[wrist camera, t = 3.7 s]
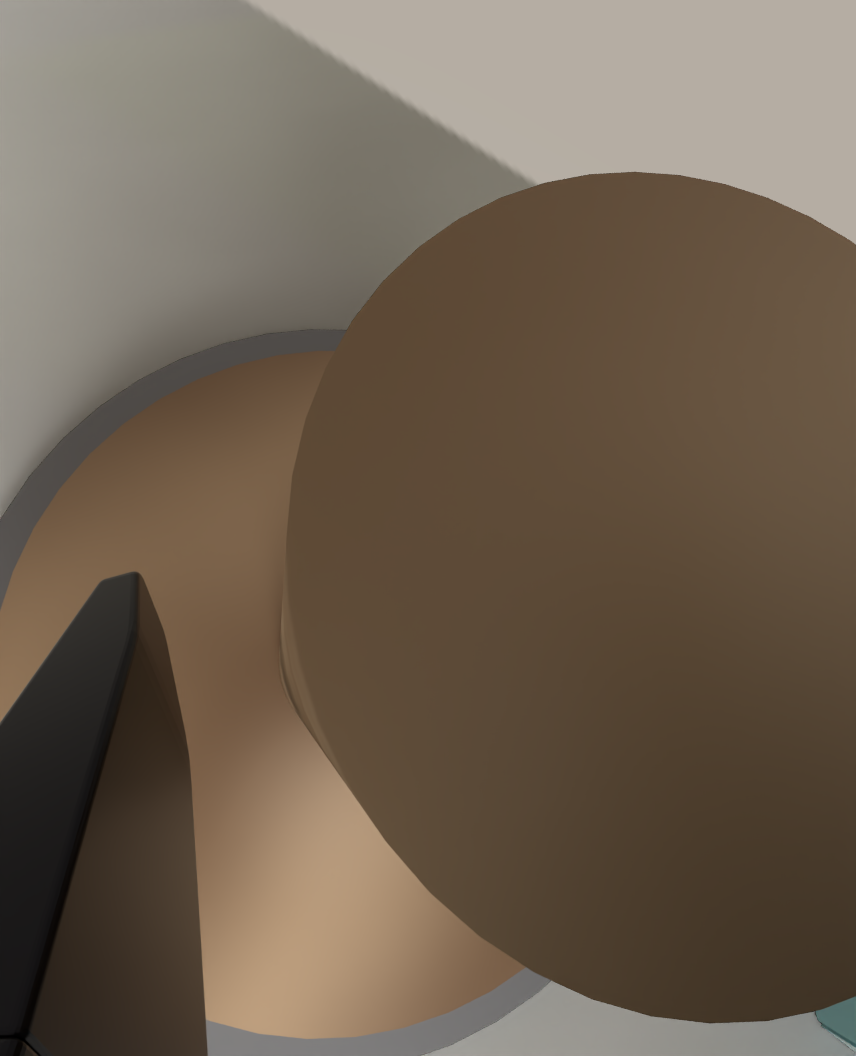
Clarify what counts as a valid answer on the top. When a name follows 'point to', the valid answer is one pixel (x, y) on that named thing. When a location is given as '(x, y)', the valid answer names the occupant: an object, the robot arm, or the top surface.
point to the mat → (3, 544)
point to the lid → (511, 620)
